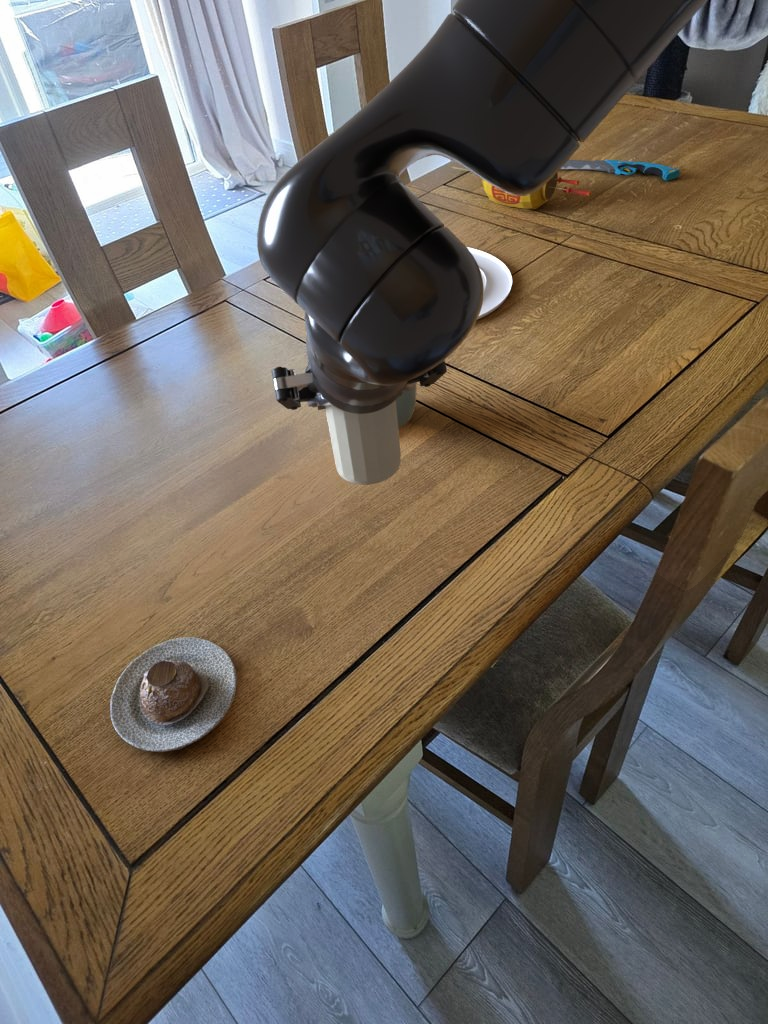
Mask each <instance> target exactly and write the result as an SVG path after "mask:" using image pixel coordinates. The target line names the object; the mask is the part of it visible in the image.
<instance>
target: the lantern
mask: <svg viewBox="0 0 768 1024" xmlns="http://www.w3.org/2000/svg"><path fill="white" fill-rule="evenodd" d="M450 169H455V170H461V171H466V172H470V171H469V170H468V169H466V168H464V167H457V166H451V167H450ZM558 175H559V172H557V173H556V174H555V175H554V176H553V178H552V179H550V180H549V181H548V182H547V183H546V184H545V185H544V186H543V187H542V188H540V189H539V190H537V191H536V192H534V193H532V194H529V195H526V196H516V195H512V194H509V193H506V192H504V191H502V190H500V189H498V188H497V187H495V186H493V185H491V184H490V183H488V182H486V181H485V180H483V179H482V178H480V184H481V187H482V188H483V190H484V192H485V193H486V195H487V198H488V199H489V200H490V201H492V202H493V203H495V204H498V205H502V206H507V207H514V208H518V209H524V210H529V211H530V210H536V209H539V208H540V207H541V206H542V205H544V204H545V203H546V202H547V201H549V200H551V199H552V198H553V196H554V194H555V192H556V190H561V191H562V192H563V194H565V193H567V194H570V193H572V194H575V195H579V196H583V197H584V196H586V197H591V194H592V192H591V191H590V190H581V189H573V188H571V187H568V188H567V186H564V187H563V188H560V187H557V185H558V184H560V183H564V184H565V183H566V184H569V185H574V186H579V183H580V181H579V180H576V179H567V178H566V179H565V178H562V177H561V176H559V177H558Z"/></svg>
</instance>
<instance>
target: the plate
mask: <svg viewBox="0 0 768 1024" xmlns="http://www.w3.org/2000/svg"><path fill="white" fill-rule="evenodd" d="M466 247H467V248H468V250H469V251H470V252H471V254H472V255H473V257H474V258H475V260H476V262H477V264H478V266H479V268H480V272H481V275H482V279H483V285H484V297H483V304H482V308H481V311H480V314H479V316H478V318H477V320H479V319H482V318H484V317H486V316H488V315H489V314H491V313H493V312H494V311H495V310H497V309H498V308H499V307H500V306H501V305H503V303H504V302H505V301H506V300H507V298H508V296H509V294H510V292H511V289H512V285H513V277H512V274H511V271H510V269H509V267H508V266H506V264H505V263H504V262H503V261H502V260H500V259H499V258H497V257H496V256H494V255H492V254H490V253H487V252H486V251H483V250H480V249H476V248H473V247H468V246H466Z"/></svg>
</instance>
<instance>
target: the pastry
mask: <svg viewBox="0 0 768 1024" xmlns="http://www.w3.org/2000/svg"><path fill="white" fill-rule="evenodd" d="M237 685H238V679H237V670H236V667H235V664H234V660H233V659H232V658H231V656H230V655H229V653H228V652H227V651H226V650H225V649H224V648H222V647H221V646H219V645H218V644H216V643H214V642H213V641H211V640H208V639H203V638H198V637H193V636H185V637H176V638H171V639H168V640H166V641H163V642H161V643H158V644H156V645H154V646H152V647H150V648H147V650H145V651H144V652H143V653H141V654H140V655H138V656H137V657H136V658H134V659H133V660H131V662H130V663H129V664H128V665H127V666H126V667H125V669H124V670H123V672H122V673H121V674H120V676H119V677H118V679H117V681H116V683H115V686H114V689H113V692H112V693H111V696H110V719H111V722H112V723H111V724H112V726H113V728H114V730H115V732H116V733H117V734H118V736H119V737H120V738H121V739H122V740H124V742H126V743H128V744H129V745H130V746H132V747H134V748H137V749H140V750H143V751H147V752H155V753H157V752H158V753H162V752H164V753H165V752H171V751H179V750H182V749H184V748H187V746H189V745H191V744H193V743H196V742H197V741H199V740H201V739H202V738H204V737H205V736H206V735H208V734H209V733H210V732H212V730H214V729H215V728H216V727H217V726H218V725H219V723H221V721H222V720H223V718H225V716H226V715H227V713H228V712H229V710H230V708H231V706H232V704H233V702H234V699H235V695H236V692H237V687H238V686H237Z"/></svg>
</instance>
